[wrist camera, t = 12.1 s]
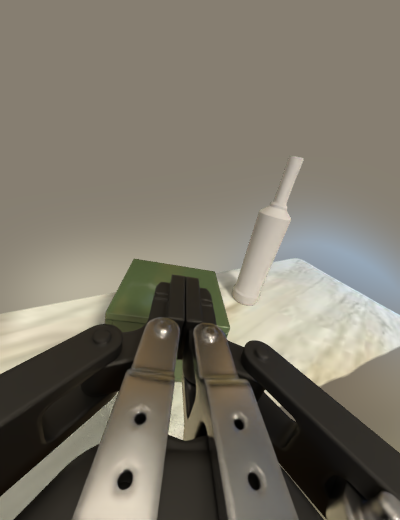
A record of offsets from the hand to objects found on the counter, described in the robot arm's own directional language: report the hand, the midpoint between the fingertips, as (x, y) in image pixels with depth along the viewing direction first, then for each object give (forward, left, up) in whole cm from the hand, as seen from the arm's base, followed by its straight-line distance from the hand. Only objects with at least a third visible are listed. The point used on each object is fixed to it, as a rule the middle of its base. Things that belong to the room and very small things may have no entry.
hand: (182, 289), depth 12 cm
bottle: (+21, +16, -15) cm, 31 cm away
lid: (+3, +9, -7) cm, 12 cm away
